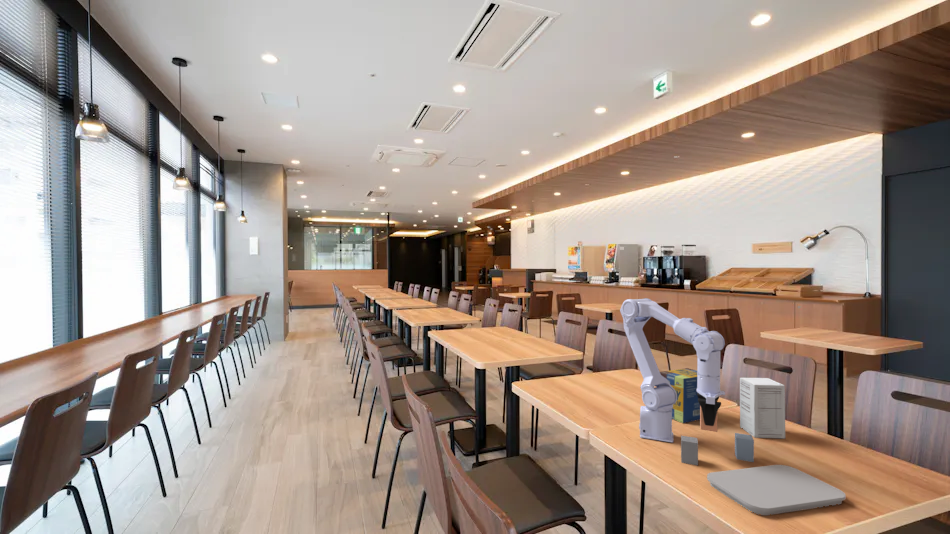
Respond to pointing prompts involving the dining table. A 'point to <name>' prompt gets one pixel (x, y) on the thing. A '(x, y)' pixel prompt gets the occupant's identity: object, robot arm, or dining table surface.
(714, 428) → the terracotta block
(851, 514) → the dining table surface
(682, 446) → the gray block
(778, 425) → the supplement box
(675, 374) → the protein box
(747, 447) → the slate-blue block
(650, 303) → the robot arm
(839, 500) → the tablet
